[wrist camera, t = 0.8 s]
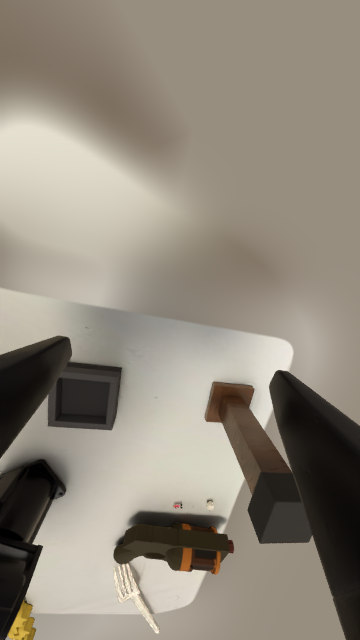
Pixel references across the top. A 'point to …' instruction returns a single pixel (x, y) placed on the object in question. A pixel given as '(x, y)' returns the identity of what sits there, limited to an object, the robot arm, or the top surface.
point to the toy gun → (176, 546)
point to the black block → (278, 510)
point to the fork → (133, 595)
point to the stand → (244, 431)
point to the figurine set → (209, 506)
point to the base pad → (85, 397)
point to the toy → (23, 624)
